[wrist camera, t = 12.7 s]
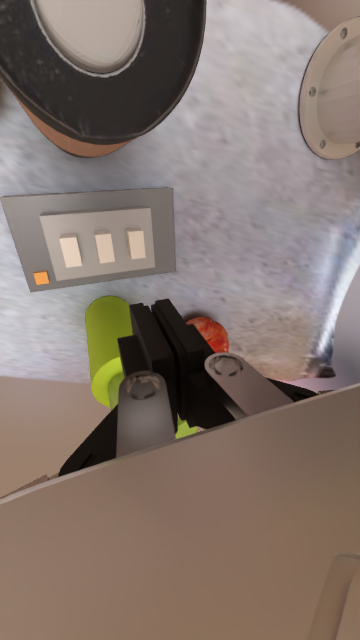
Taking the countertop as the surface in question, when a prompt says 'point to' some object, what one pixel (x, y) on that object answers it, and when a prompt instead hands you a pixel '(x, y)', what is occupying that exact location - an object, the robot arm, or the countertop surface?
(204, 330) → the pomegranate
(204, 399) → the robot arm
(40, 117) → the travel mug
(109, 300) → the soap dispenser
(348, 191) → the countertop surface
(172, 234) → the breaker panel
